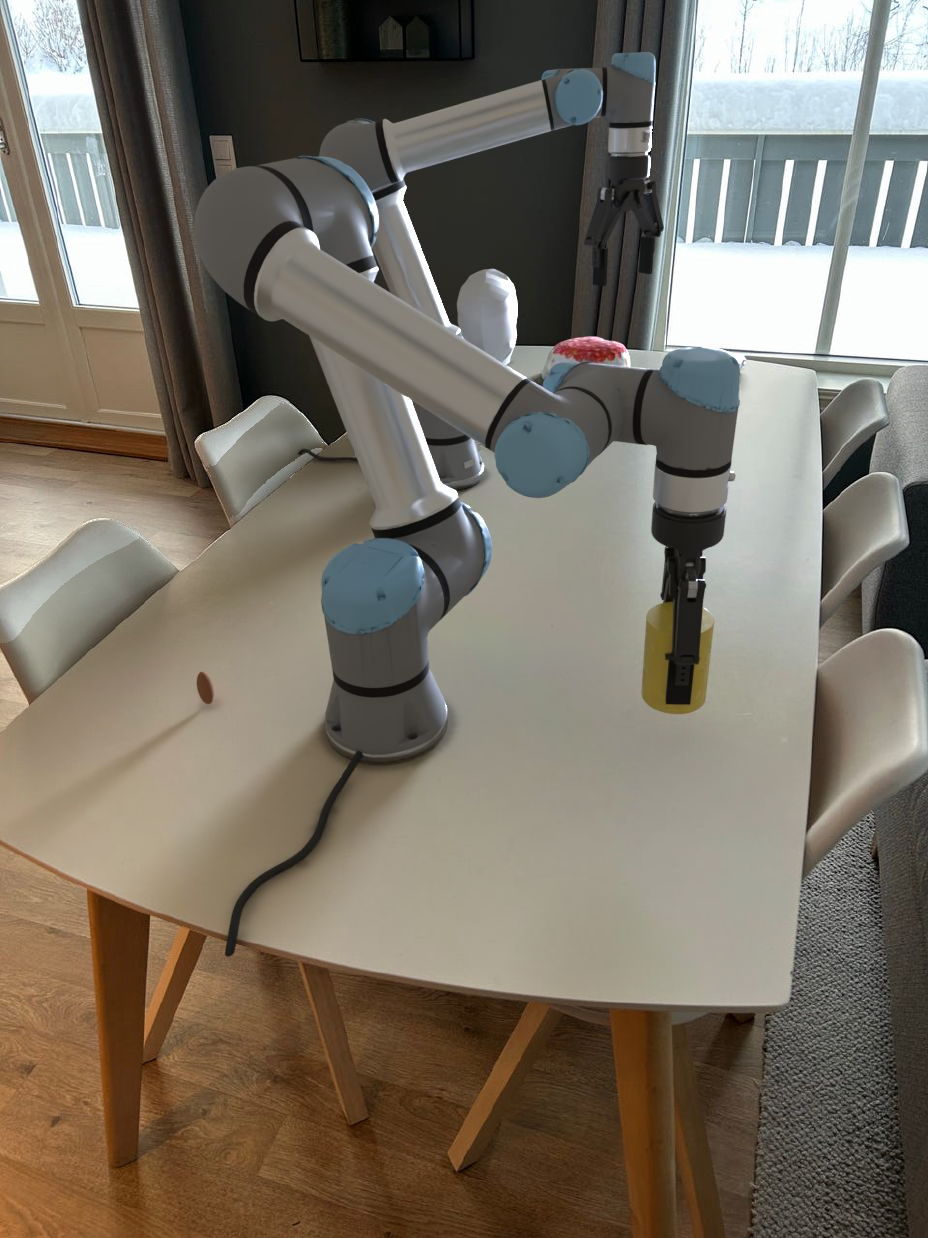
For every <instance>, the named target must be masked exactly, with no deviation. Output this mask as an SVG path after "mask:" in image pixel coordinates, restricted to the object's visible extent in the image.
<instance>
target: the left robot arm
mask: <svg viewBox="0 0 928 1238" xmlns="http://www.w3.org/2000/svg"><path fill="white" fill-rule="evenodd" d="M378 226H379V218H378V211H377V206H376V203H375V200H374V197H373V195H372V193H371V191H370V189H369V187H368V186H367V184H366V183H365V181H364V180H363V179H362V178H361V176H360V175H359V174H358V173H357V172H356V171H355V170H353V169H352V168H351V167H350V166H348V165H346V164H344V163H343V162H341V161H339V160H337V159H334V158H330V157H322V156H320V157H319V156H312V155H299V156H297V157H293V158H288V159H282V160H278V161H271V162H267V163H262V164H258V165H253V166H252V165H251V166H250V165H249V166H242V167H236V168H233V169H230V170H229V171H226V172H224V173H222V174H220V175H219V176H218V177H216V178H215V179H214V180H213V181H211V183H210V184H209V185H208V186H207V187H206V188H205V190H204V192H203V193H202V194H201V197H200V199H199V201H198V204H197V207H196V210H195V214H194V223H193V232H194V240H195V246H196V248H197V252H198V255H199V257H200V260H201V261H202V264H203V265H204V267H205V269H206V270H207V272H208V274H209V275H210V277H211V278H212V279H213V281H215V283H216V284H217V285H218V286H219V287H220V288H221V289H222V290H223V291H224V292H225V293H226V294H228V295H229V296H230V297H231V298H232V299H234V300H235V302H237V303H239V304H240V305H241V306H243V307H244V308H246V309H247V310H249V311H251V312H252V313H254V314H255V315H257V316H258V317H260V318H262V319H263V320H265V321H267V322H277V321H280V320H284V321H285V322H287V323H289V324H291V325H292V326H293V327H294V328H296V329H298V330H300V331H301V332H303V333H305V334H306V335H307V336H309V339H310V341H311V344H312V347H313V350H314V352H315V355H316V358H317V359H318V363H319V365H320V368H321V370H322V373H323V375H324V378H325V380H326V383H327V385H328V388H329V390H330V394H331V396H332V398H333V401H334V403H335V406H336V409H337V412H338V414H339V416H340V418H341V421H342V424H343V426H344V429H345V432H346V434H347V436H348V439H349V442H350V444H351V447H352V450H353V452H354V454H355V457H357V460H358V461H357V462H358V465H359V468H360V470H361V473H362V475H363V478H364V480H365V483H366V485H367V489H368V491H369V493H370V496H371V499H372V501H373V503H374V506H375V507H374V508H375V509H374V511H373V513H372V515H371V518H370V521H369V527H370V529H371V532H372V534H373V537H374V538H370V539H366V540H364V541H363V543H361V544H358V543H353V544H350V545H348V546H346V547H345V548H343V549H341V550H340V551H339V552H337V553H336V554H335V555H333V556H332V557H331V559H330V560H329V561H328V562H327V564H326V565H325V567H324V569H323V571H322V575H321V581H320V583H321V584H320V587H321V597H320V603H321V604H320V606H321V611H322V614H323V617H324V618H323V619H324V623H325V630H326V631H325V632H326V636H327V637H326V638H327V643H328V650H329V651H328V652H329V657H330V663H331V664H330V665H331V671H332V677H333V681H332V685H331V689H330V692H329V697H328V701H327V705H326V710H325V715H324V727H325V728H324V729H325V733H326V738H327V741H328V743H329V745H330V746H331V748H333V749H334V750H335V751H336V752H337V753H338V754H339V755H341V756H342V757H345V758H347V759H349V760H350V761H349V762H348V764H347V766H346V767H345V769H344V771H343V772H342V774H341V776H340V777H339V778H338V780H337V782H336V783H335V784H334V786H333V788H332V790H331V791H330V793H329V795H328V796H327V798H326V799H325V802H324V804H323V807H322V809H321V812H320V815H319V818H318V820H317V824H316V827H315V829H314V831H313V834H312V836H311V837H310V838H309V840H308V842H306V844H305V845H304V846H303V847H302V848H301V849H300V850H299V851H298V852H297V853H295V854H294V855H293V856H291V857H290V858H288V859H286V860H284V861H282V862H280V863H279V864H277V865H275V866H273V867H271V868H269V869H268V870H265V871H264V872H263V873H262V874H260V875H258V876H257V877H255V878H254V879H253V880H252V881H250V883H249V884H248V885H247V886H246V887H245V888H244V890H243V891H242V892H241V894H240V895H239V897H238V898H237V900H236V902H235V904H234V906H233V909H232V913H231V917H230V922H229V927H228V933H227V939H226V944H225V949H224V955H225V957H228V958H229V957H232V956H233V955H234V954H235V952H236V947H237V940H238V934H239V929H240V924H241V918H242V915H243V912H244V908H245V907H246V905H247V903H248V901H249V900H250V898H251V897H252V896H253V894H254V893H256V891H257V890H258V889H259V888H260V887H261V886H262V885H264V884H266V883H267V882H268V881H270V880H271V879H273V878H274V877H276V876H278V875H280V874H282V873H284V872H286V871H287V870H289V869H290V868H293V867H294V866H296V865H298V864H299V863H301V862H302V861H303V860H304V859H306V858H307V857H308V856H309V855H310V854H311V853H312V852H313V850H314V849H315V848H316V847H317V846H318V844H319V842H320V840H321V839H322V837H323V835H324V832H325V830H326V825H327V822H328V819H329V816H330V813H331V810H332V808H333V806H334V804H335V802H336V801H337V798H339V796H340V793H341V792H342V790H343V789H344V787H345V786H346V785H347V782H348V781H349V779H350V778H351V776H352V775H353V773H354V771H355V770H356V768H357V767H358V764H359V763H363V764H368V765H390V764H391V765H392V764H398V763H402V762H406V761H409V760H412V759H415V758H417V757H420V756H422V755H424V754H426V753H427V752H429V751H430V750H432V749H433V748H434V747H436V746H437V745H438V743H440V742H441V740H442V739H443V738H444V736H445V734H446V732H447V729H448V725H449V720H448V719H449V717H448V707H447V705H446V701H445V697H444V696H443V694H442V691H441V689H440V688H439V686H438V683H437V682H436V679H435V678H434V675H433V673H432V671H431V669H430V659H429V643H428V636H429V633H430V631H431V630H432V629H434V627H435V626H436V625H437V624H438V623H439V622H440V621H442V620H443V618H444V617H445V616H446V615H448V613H449V612H450V611H452V609H453V608H454V607H455V606H456V605H457V604H458V603H459V602H460V601H461V600H463V599H464V598H465V597H466V596H468V595H470V593H472V592H473V591H474V590H475V588H476V587H477V586H478V584H479V583H480V581H481V580H482V578H484V576H485V575H486V573H487V571H488V569H489V566H490V564H491V561H492V555H493V544H492V539H491V534H490V531H489V529H488V526H487V524H486V523H485V521H484V519H483V518H482V516H481V515H480V514H479V513H478V512H477V511H476V512H475V511H473V510H471V509H472V508H471V507H470V506H469V505H468V504H466V503H464V502H461V500H460V497H459V494H458V492H457V490H454V489H452V488H449V487H447V486H445V485H443V484H442V483H441V482H440V480H439V477H438V475H437V472H436V469H435V466H434V463H433V461H432V458H431V455H430V452H429V449H428V446H427V444H426V441H425V438H424V435H423V432H422V430H421V427H420V424H419V421H418V418H417V416H416V413H415V410H414V407H413V404H412V402H411V400H412V401H413V402H415V403H417V404H418V405H420V406H421V407H423V408H424V409H426V410H428V411H429V412H431V413H432V414H434V415H436V416H437V417H439V418H440V419H442V420H443V421H445V422H447V423H448V424H450V425H451V426H453V427H454V428H456V429H458V430H459V431H461V432H462V433H464V434H466V435H467V436H469V437H470V438H472V439H473V440H474V441H475V442H477V443H478V444H479V445H481V446H483V447H484V448H486V449H487V450H489V451H491V452H492V453H493V454H494V462H495V468H496V469H497V471H498V474H500V476H501V478H502V479H503V480H504V482H505V484H506V486H508V487H509V488H510V489H511V490H512V491H514V492H515V493H517V494H519V495H521V496H523V497H527V498H532V499H543V498H548V497H551V496H553V495H556V494H558V493H559V492H560V491H562V490H563V489H564V488H566V487H567V486H570V484H572V483H574V482H575V481H576V480H578V478H579V477H580V476H581V475H583V474H584V472H585V471H586V470H587V468H588V466H590V465H591V463H592V462H593V461H594V460H595V459H596V458H597V457H598V456H600V455H601V454H602V453H603V452H604V451H605V450H607V448H608V447H609V446H611V444H612V443H614V442H617V443H618V442H619V443H626V444H635V445H643V446H654V447H655V451H656V455H655V461H654V472H653V473H654V474H653V486H652V487H653V489H652V498H653V500H654V503H653V504H652V512H651V528H650V531H651V535H652V537H653V539H654V540H655V541H656V542H658V543H659V544H661V546H662V545H663V546H665V547H664V554H663V555H664V562H663V563H664V564H663V573H662V582H661V583H662V585H661V592H660V598H661V601H662V603H666V602H673V628H672V652H671V653H665V660H669V663H668V675H667V687H666V699H665V701H666V704H676V705H690V703H691V693H692V683H693V674H694V665H698V664H699V661H700V657H699V650H700V637H701V624H702V610H703V608H704V599H705V593H706V589H707V582H706V580H705V579H704V574H705V573H706V571H707V558H706V557H705V556H703V553H704V552H703V551H705V550H707V549H709V548H712V547H715V546H717V545H718V544H719V543H720V542H721V541H722V540H723V538H724V536H725V535H724V534H725V527H726V517H727V507H726V504H727V501H728V494H729V482H734V481H735V480H736V476H737V475H736V473H735V471H731V467H732V459H733V452H734V443H735V436H736V428H737V421H738V413H739V407H740V405H741V400H740V381H741V370H740V364H739V361H738V359H737V358H736V357H735V356H734V355H733V354H734V353H733V354H731V353H732V352H729V351H727V350H724V349H721V348H715V347H707V346H699V347H682V348H677V349H673V350H670V351H669V352H668V353H667V354H666V355H664V357H663V359H662V362H661V366H660V368H647V367H646V368H644V367H635V366H630V367H626V366H616V365H607V364H597V363H594V362H590V361H582V362H560V363H557V364H556V365H554V366H553V367H552V368H551V369H550V370H549V372H548V377H547V378H545V380H543V383H542V386H541V385H539V384H538V383H536V382H534V381H533V380H531V379H529V378H528V377H526V376H524V375H523V374H521V373H519V372H518V371H516V370H515V369H514V368H511V366H509V365H508V364H506V365H505V364H504V363H502V362H500V361H499V360H497V359H496V358H494V357H492V356H491V355H489V354H487V353H486V352H484V351H483V350H481V349H479V348H478V347H476V346H475V345H473V344H471V343H470V342H468V341H467V340H465V339H463V338H462V337H460V336H459V335H457V334H455V333H454V332H452V331H451V330H449V329H447V328H446V327H444V326H442V325H441V324H439V323H438V322H436V321H434V320H433V319H431V318H430V317H428V316H426V315H425V314H423V313H422V312H420V311H418V310H417V309H415V308H414V307H412V306H410V305H409V304H407V303H406V302H404V301H402V300H401V299H399V298H398V297H396V296H394V295H393V294H391V293H390V291H388V290H386V289H385V288H383V287H381V286H380V285H378V284H376V283H375V280H376V277H377V274H378V273H379V267H378V264H377V262H376V259H375V256H374V252H373V248H372V247H373V245H374V243H375V241H376V236H375V235H376V231H377V230H378Z"/></svg>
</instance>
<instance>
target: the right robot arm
mask: <svg viewBox="0 0 928 1238" xmlns="http://www.w3.org/2000/svg"><path fill="white" fill-rule="evenodd" d="M655 90H656V57H655V55H654V54H653V52H650V51H642V52H641V51H640V52H617V53H613V55H612V57H611V62H610V65H609V66H603V67H582V68H581V67H578V68H576V67H575V68H556V69H549V70H545V71H544V72H543V73H542V75H541V79H540V80H536V81H533V82H530V83H527V84H522V85H519V86H516V87H512V88H509V89H506V90H502V91H500V92H496V93H493V94H489V95H486V96H482V97H479V98H476V99H471V100H469V101H465V102H462V103H459V104H456V105H452V106H448V107H445V108H443V109H442V108H441V109H439V110H435V111H432V112H429V113H425V114H422V115H418V116H415V117H411V118H408V119H404V120H401V121H398V122H391V121H390V120H388V119H387V118H384V119H379V120H377V121H374V120H371V119H368V118H354V119H351V120H347V121H346V122H344V123H341V124H339V125H337V126H335V127H333V129H331V130H330V131H328V133H327V134H326V135H325V137H324V138H323V140H322V143H321V145H320V149H319V153H318V157H320V156H322V157H330V158H334V159H337V160H339V161H341V162H343V163H344V164H346V165H348V166H350V167H351V168H352V169H353V170H355V171H356V172H357V173H358V174H359V175H360V176H361V178H362V179H363V180H364V181H365V183H366V184H367V186H368V187H369V189H370V191H371V193H372V195H373V197H374V200H375V203H376V206H377V211H378V218H379V226H378V230H377V231H376V235H375V236H376V241H375V243H374V245H373V247H372V252H373V254H374V255H375V256H374V257H375V258H376V260H377V262H378V265H379V268H380V270H381V273H382V275H383V277H384V280H385V282H386V285H387V288H388V290H389V293H391V294H393V295H394V296H396V297H398V298H399V299H401V300H402V301H404V302H406V303H407V304H409V305H410V306H412V307H414V308H415V309H417V310H418V311H420V312H422V313H423V314H425V315H426V316H428V317H430V318H431V319H433V320H434V321H436V322H438V323H439V324H441V325H442V326H444V327H446V328H447V329H449V330H451V331H452V332H454V333H455V334H457V335H459V336H460V337H462V338H463V336H462V333H461V331H460V328H459V326H457V325H455V324H452V323H451V322H450V321H449V318H448V315H447V313H446V310H445V308H444V305H443V303H442V299H441V297H440V295H439V292H438V289H437V286H436V283H435V282H434V279H433V276H432V273H431V271H430V269H429V265H428V263H427V261H426V258H425V255H424V253H423V251H422V248H421V244H420V242H419V240H418V237H417V234H416V231H415V229H414V226H413V224H412V221H411V218H410V215H409V214H408V210H407V208H406V206H405V203H404V201H403V200H404V195H405V193H406V190H407V185H406V183H405V179H404V178H405V176H406V174H408V173H411V172H413V171H414V172H415V171H419V170H421V169H424V168H428V167H431V166H434V165H438V164H442V163H445V162H449V161H452V160H455V159H459V158H462V157H465V156H469V155H472V154H476V153H479V152H483V151H486V150H487V151H488V150H490V149H493V148H497V147H500V146H503V145H504V146H505V145H508V144H511V143H515V142H517V141H521V140H525V139H528V138H531V137H535V136H538V135H541V134H545V133H549V132H552V131H557V130H560V129H563V128H568V127H571V126H582V125H584V124H588V123H590V122H591V121H592V120H593V119H595V118H608V119H609V123H608V137H607V139H608V140H607V152H608V153H609V154H610V155H609V156H608V158H607V166H606V167H607V168H606V169H607V170H606V173H607V174H606V177H607V178H608V179H609V180H610V187H601V186H600V187H598V189H597V195H596V202H595V205H594V209H593V213H592V215H591V219H590V222H589V225H588V228H587V232H586V234H585V238H584V241H583V244H584V246H587V247H588V248H591V249H592V257H591V258H592V259H591V265H592V267H593V268H592V269H593V270H592V285H594V286H598V287H606V286H607V284H608V283H607V281H608V255H609V248H608V247H606V245H607V243H608V241H609V239H610V237H611V236H612V233H613V231H614V229H615V227H616V225H617V223H618V221H619V219H620V217H621V216H623V215H624V214H625V213H628V212H630V211H632V213H633V215H634V217H635V219H636V222H637V223H638V225H639V227H640V229H641V231H642V234H643V235H644V236H640V241H639V243H640V244H639V257H638V258H639V259H638V260H639V261H638V273H640V274H645V275H652V274H653V268H654V266H653V265H654V255H655V248H656V238H660V237H661V235H662V232H663V231H664V229H665V227H664V221H663V218H662V213H661V208H660V204H659V199H658V196H657V181H656V180H651V179H648V178H649V176H650V171H651V170H650V169H651V156H650V154H648V153H649V152H650V151H651V148H652V132H653V131H652V129H653V121H654V105H655V92H656V91H655ZM463 339H464V338H463ZM412 404H413V407H414V410H415V413H416V416H417V418H418V421H419V424H420V427H421V430H422V432H423V435H424V438H425V441H426V444H427V446H428V449H429V452H430V455H431V458H432V461H433V463H434V466H435V469H436V472H437V475H438V477H439V480H440V482H441V483H442V484H443V485H445V486H447V487H449V488H452V489H454V490H455V491H458V490H463V489H467V488H470V487H472V486H475V485H477V484H478V483H480V482H481V481H482V480H483V478H484V477H485V465H484V461H483V460H482V458H481V454H480V451H479V449H478V446H477V444H476V441H475V440H473V439H472V438H470V437H469V436H467V435H466V434H464V433H462V432H461V431H459V430H458V429H456V428H454V427H453V426H451V425H450V424H448V423H447V422H445V421H443V420H442V419H440V418H439V417H437V416H436V415H434V414H432V413H431V412H429V411H428V410H426V409H424V408H423V407H421V406H420V405H418V404H417V403H415V402H413V401H412ZM303 453H306V454H308V455H309V456H311V457H312V458H314V459H316V460H319V461H324V462H340V461H341V462H342V461H351V462H358V460H357V457H356V456H321V455H318V454H316V453H314V452H313V451H311V450H310V449H308V448H301V449H300V450H298V451H297V455H302V454H303Z"/></svg>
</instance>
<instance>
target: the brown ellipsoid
mask: <svg viewBox="0 0 928 1238" xmlns="http://www.w3.org/2000/svg"><path fill="white" fill-rule="evenodd" d="M196 689H197V694H198V695H199V698H200V700H201V701H202V702H203V703H204V704H206V705H210V704H211V703H212V702H213V701H214V699H215V688H214V683H213V680H212V679H211V677H210V675H209V674H208V673H207V672H206V671H200V672H199V673H198V674H197V677H196Z"/></svg>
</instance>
